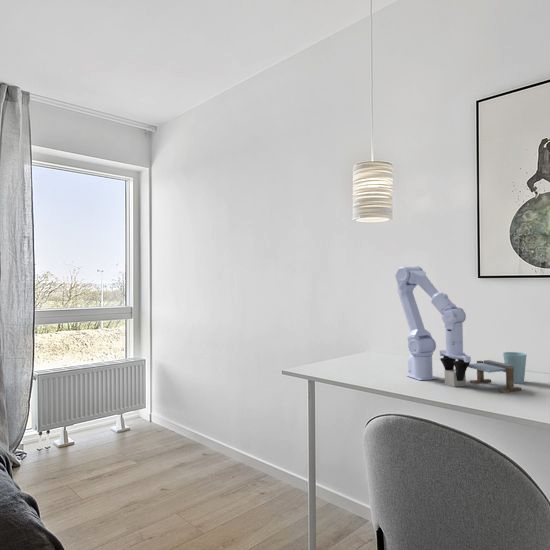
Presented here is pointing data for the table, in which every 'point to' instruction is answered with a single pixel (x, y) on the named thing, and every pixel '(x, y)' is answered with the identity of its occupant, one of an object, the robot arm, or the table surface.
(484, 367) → the trapdoor
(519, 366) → the cup
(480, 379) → the stand
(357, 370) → the table surface
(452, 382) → the stone
